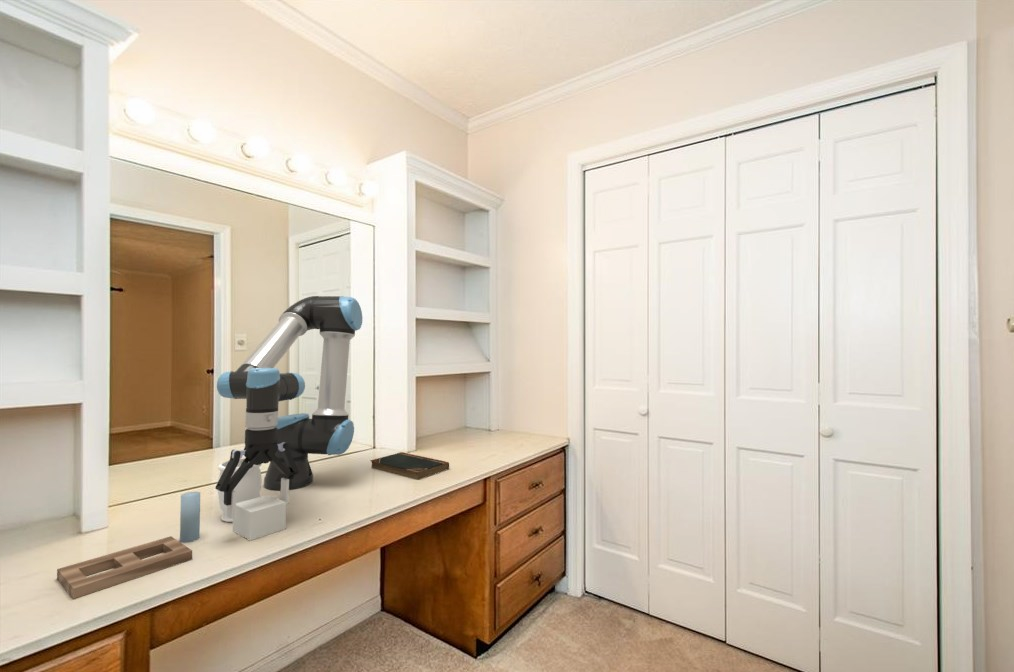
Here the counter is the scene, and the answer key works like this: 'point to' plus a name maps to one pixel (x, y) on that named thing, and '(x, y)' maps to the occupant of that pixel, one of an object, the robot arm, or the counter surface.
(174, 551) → the socket board
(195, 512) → the peg
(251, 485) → the jar
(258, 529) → the cover
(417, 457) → the book
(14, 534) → the counter surface
